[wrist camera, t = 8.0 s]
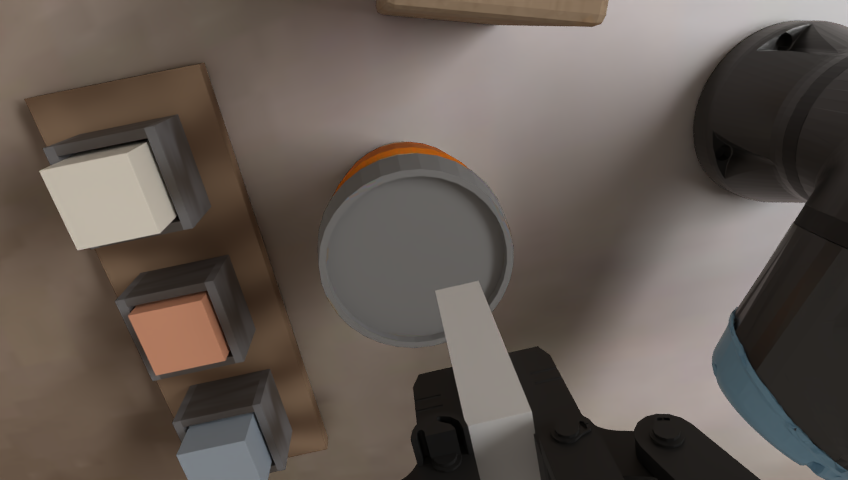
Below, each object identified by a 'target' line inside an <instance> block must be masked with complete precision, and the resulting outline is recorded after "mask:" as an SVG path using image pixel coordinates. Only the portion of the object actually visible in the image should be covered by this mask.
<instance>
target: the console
mask: <svg viewBox="0 0 848 480" xmlns="http://www.w3.org/2000/svg"><path fill="white" fill-rule="evenodd" d="M25 101H26V104H27V106H28V108H29V110H30V112H31V114H32V116H33V118H34V121H35V123H36V125H37V127H38V129H39V131H40V133H41V136H42V138H43V140H44V142H45V144H46V146H47V147H45V148H43V150H44V152H45V154H46V157H47V159H48V161H49V163H50V165H53V164H55V163H58V162H60V161H62V160H64V159H66V158H69V157H71V156H73V155H75V154H78V153H81V152H86V151H91V150H96V149H101V148H106V147H111V146H116V145H121V144H126V143H130V142H135V141H140V140H145V139H148V140H149V142H150V145H151V148H152V150H153V153H154V155H155V158H156V160H157V163H158V166H159V168H160V171H161V173H162V176H163V178H164V181H165V183H166V186H167V189H168V191H169V194H170V196H171V199H172V201H173V204H174V207H175V209H176V212H177V214H178V216H177V217H176V218H175V219H174V220H173V221H172V222H171V223H170V224H169V225H168V226H167V227H166V228H165V229H164V230H163V231H162V232H161V233H159V234H154V235H150V236H145V237H140V238H135V239H130V240H125V241H121V242H116V243H111V244H106V245H101V246H96V247H92V248H90V249H95V251H96V253H97V255H98V257H99V259H100V262H101V264H102V266H103V268H104V270H105V272H106V274H107V276H108V279H109V281H110V283H111V285H112V287H113V289H114V291H115V294H116V296H117V299H116V300H115V303H116V305H117V307H118V309H119V311H120V313H121V315H122V318H123V320H124V322H125V324H126V326H127V328H128V330H129V332H130V335H131V337H132V339H133V341H134V343H135V345H136V347H137V349H138V352H139V354H140V356H141V358H142V360H143V362H144V364H145V366H146V368H147V371H148V373H149V375H150V377H151V379H152V381H157V383H158V385H159V388H160V390H161V392H162V394H163V396H164V398H165V400H166V402H167V405H168V407H169V409H170V411H171V413H172V415H173V417H174V420H173V422H172V424H173V426H174V428H175V430H176V432H177V434H178V436H179V438H180V440H181V443H182V441H183V439H184V437H185V435H186V432H187V430H188V428H189V426H191V425H196V424H201V423H205V422H210V421H215V420H219V419H224V418H228V417H233V416H238V415H242V414H247V413H252V412H255V414H256V417H257V419H258V422H259V424H260V427H261V429H262V432H263V435H264V437H265V440H266V442H267V445H268V447H269V450H270V453H271V455H272V463H271V467H270V472H269V473H271V472H276V471H281V470H285V469H286V463H287V458H288V457H293V456H297V455H302V454H307V453H311V452H316V451H320V450H325V449H327V446H328V436H327V433H326V430H325V427H324V424H323V421H322V418H321V415H320V412H319V409H318V406H317V403H316V400H315V397H314V394H313V391H312V388H311V385H310V382H309V379H308V376H307V373H306V370H305V367H304V364H303V361H302V358H301V355H300V352H299V349H298V345H297V342H296V339H295V336H294V333H293V330H292V327H291V324H290V321H289V318H288V315H287V312H286V309H285V306H284V303H283V300H282V297H281V294H280V291H279V288H278V285H277V282H276V279H275V276H274V273H273V270H272V267H271V264H270V261H269V258H268V255H267V251H266V248H265V245H264V242H263V239H262V236H261V233H260V230H259V227H258V224H257V221H256V218H255V215H254V212H253V209H252V206H251V203H250V200H249V197H248V194H247V191H246V188H245V185H244V182H243V179H242V176H241V173H240V170H239V167H238V164H237V161H236V158H235V154H234V151H233V148H232V145H231V142H230V139H229V136H228V133H227V130H226V127H225V124H224V121H223V118H222V115H221V112H220V109H219V106H218V103H217V100H216V97H215V94H214V91H213V88H212V85H211V82H210V79H209V76H208V73H207V70H206V67H205V64H204V63H200V64H195V65H190V66H185V67H180V68H175V69H170V70H165V71H160V72H155V73H150V74H145V75H140V76H135V77H130V78H125V79H120V80H115V81H110V82H105V83H100V84H95V85H90V86H85V87H80V88H76V89H71V90H66V91H61V92H56V93H51V94H46V95H41V96H36V97H31V98H27V99H25ZM202 291H208V294H209V296H210V299H211V301H212V304H213V306H214V309H215V312H216V314H217V317H218V319H219V322H220V324H221V327H222V330H223V332H224V335H225V337H226V340H227V342H228V345H229V347H230V351H229V353H228V356H227V358H226V361H222V362H218V363H213V364H208V365H203V366H199V367H194V368H189V369H185V370H180V371H175V372H171V373H166V374H161V375H155V373H154V371H153V368H152V366H151V364H150V362H149V360H148V358H147V356H146V353H145V351H144V349H143V347H142V345H141V343H140V341H139V338H138V336H137V334H136V332H135V330H134V328H133V326H132V323H131V321H130V319H129V317H128V315H129V314H130V313H131V311H132V310H133V309H134V308H135V307H136V305H140V304H145V303H150V302H155V301H159V300H164V299H169V298H174V297H178V296H183V295H188V294H193V293H198V292H202Z"/></svg>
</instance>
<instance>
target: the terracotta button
mask: <svg viewBox="0 0 848 480" xmlns="http://www.w3.org/2000/svg"><path fill="white" fill-rule="evenodd" d="M128 317H129V319H130V321H131V323H132V326H133V328H134V330H135V332H136V334H137V336H138V338H139V341H140V343H141V345H142V347H143V349H144V351H145V353H146V356H147V358H148V360H149V362H150V364H151V366H152V368H153V371H154V373H155V375H161V374H166V373H171V372H175V371H180V370H185V369H189V368H194V367H199V366H203V365H208V364H213V363H218V362H222V361H226V358H227V356H228V353H229V351H230V347H229V345H228V342H227V340H226V337H225V335H224V332H223V330H222V327H221V324H220V322H219V319H218V317H217V314H216V312H215V309H214V306H213V304H212V301H211V299H210V296H209V294H208V291H202V292H198V293H193V294H188V295H183V296H178V297H174V298H169V299H164V300H159V301H155V302H150V303H145V304H140V305H136V307H135V308H134V309H133V310H132V311H131V313H130V314H129V315H128Z"/></svg>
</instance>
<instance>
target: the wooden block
mask: <svg viewBox="0 0 848 480" xmlns="http://www.w3.org/2000/svg"><path fill="white" fill-rule="evenodd" d="M607 6H608V0H376V9H377V12H378V13H380V14H382V15H393V16H404V17H415V18H426V19H437V20H448V21H459V22H470V23H481V24H492V25H528V26H585V27H593V26H596V25H599V24H601V23H602V22H603V20H604V18H605V16H606V11H607Z"/></svg>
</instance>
